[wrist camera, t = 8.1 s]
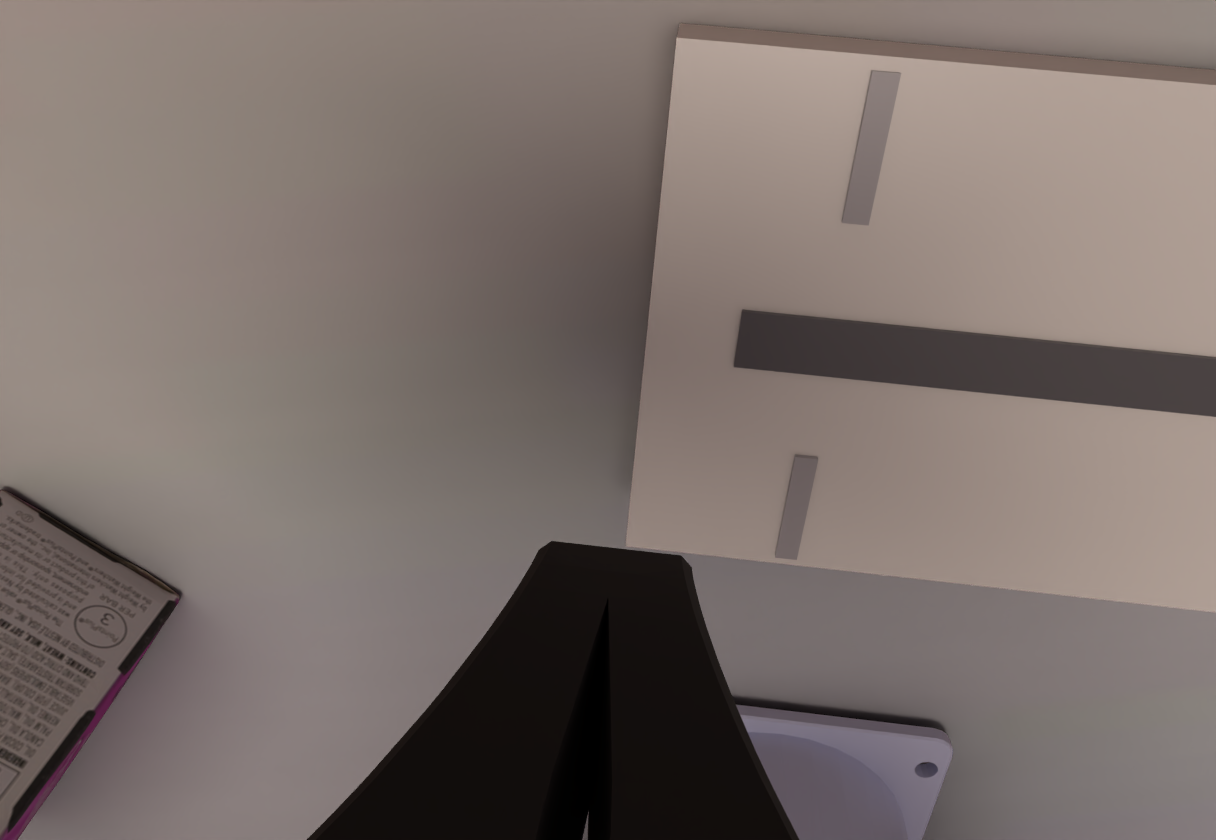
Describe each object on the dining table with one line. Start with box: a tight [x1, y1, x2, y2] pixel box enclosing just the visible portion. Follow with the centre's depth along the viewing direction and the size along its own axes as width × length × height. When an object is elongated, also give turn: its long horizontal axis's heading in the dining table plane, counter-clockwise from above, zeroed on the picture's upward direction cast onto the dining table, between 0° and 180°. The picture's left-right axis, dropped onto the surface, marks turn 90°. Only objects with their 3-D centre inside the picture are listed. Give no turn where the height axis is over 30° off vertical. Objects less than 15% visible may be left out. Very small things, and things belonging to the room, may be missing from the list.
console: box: [626, 23, 1216, 612], centre depth 16 cm, size 9×18×2 cm, turn 86°
